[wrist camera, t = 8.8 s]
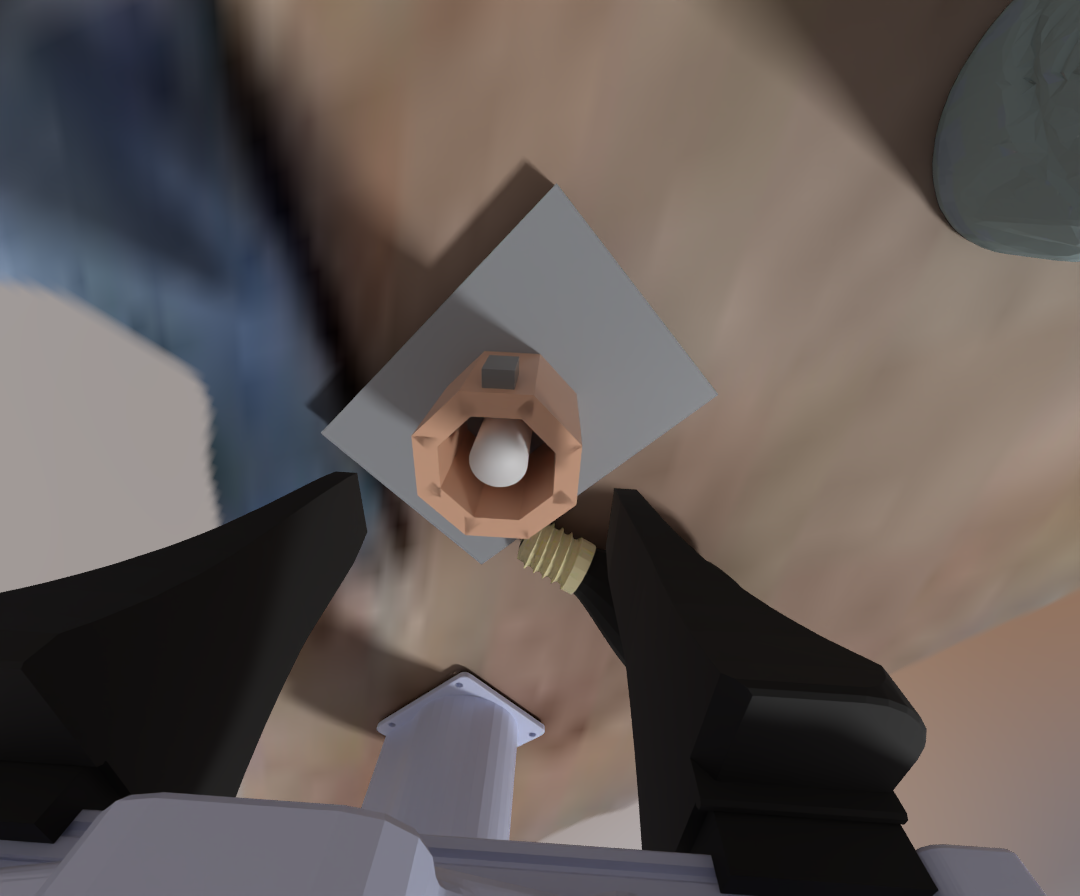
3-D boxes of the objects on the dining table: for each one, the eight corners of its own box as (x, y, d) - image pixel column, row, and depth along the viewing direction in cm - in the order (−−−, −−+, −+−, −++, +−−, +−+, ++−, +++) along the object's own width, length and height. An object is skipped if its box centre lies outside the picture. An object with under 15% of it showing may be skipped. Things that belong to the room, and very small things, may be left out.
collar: (569, 473, 19) (572, 541, 15) (451, 466, 19) (421, 532, 15) (581, 340, 17) (588, 378, 12) (444, 333, 17) (404, 368, 12)
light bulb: (481, 612, 17) (746, 764, 17) (559, 470, 18) (811, 607, 18) (495, 586, 24) (685, 695, 23) (551, 483, 25) (735, 583, 24)
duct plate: (485, 549, 23) (465, 632, 18) (333, 422, 20) (262, 482, 15) (708, 385, 18) (761, 439, 14) (556, 186, 15) (555, 165, 10)
